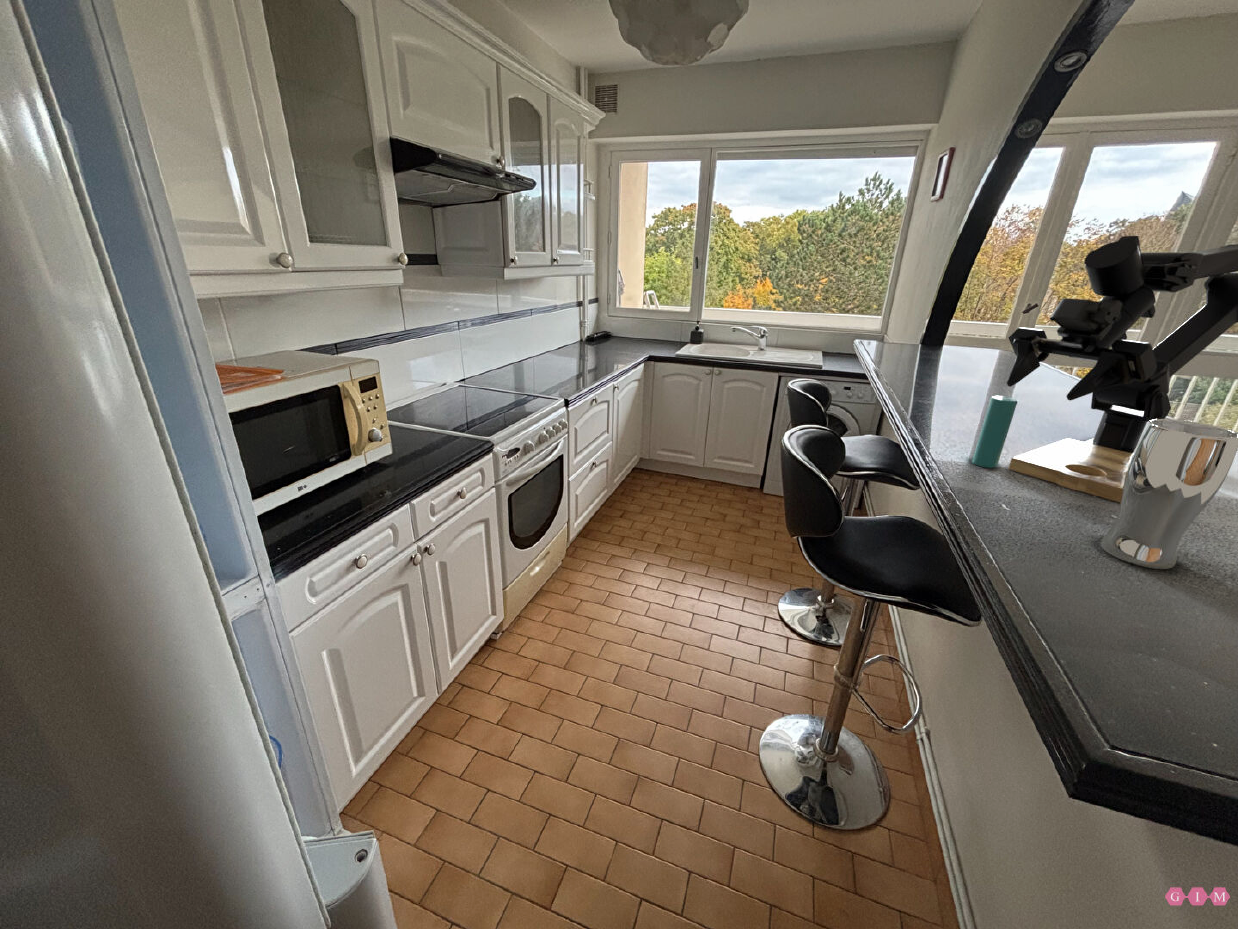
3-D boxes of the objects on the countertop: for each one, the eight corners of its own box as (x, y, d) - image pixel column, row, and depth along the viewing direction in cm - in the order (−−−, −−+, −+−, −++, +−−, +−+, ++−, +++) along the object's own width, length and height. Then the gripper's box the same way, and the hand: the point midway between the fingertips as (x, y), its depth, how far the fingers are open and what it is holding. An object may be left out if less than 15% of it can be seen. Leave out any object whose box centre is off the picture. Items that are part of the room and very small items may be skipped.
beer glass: (1198, 576, 53) (1269, 441, 48) (1121, 567, 54) (1181, 435, 49) (1148, 542, 59) (1205, 420, 54) (1081, 535, 61) (1129, 416, 55)
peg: (978, 459, 85) (997, 394, 80) (1001, 465, 82) (1022, 399, 78) (967, 462, 83) (986, 397, 79) (990, 469, 80) (1011, 402, 76)
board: (1063, 448, 90) (1067, 438, 89) (1171, 476, 79) (1177, 464, 78) (1006, 469, 80) (1010, 457, 80) (1120, 504, 69) (1126, 490, 68)
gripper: (1034, 277, 83) (965, 346, 84) (1179, 281, 67) (1091, 368, 68) (1052, 325, 89) (987, 390, 90) (1190, 340, 72) (1108, 420, 73)
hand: (1036, 391), depth 80 cm, fingers open, 9 cm apart
